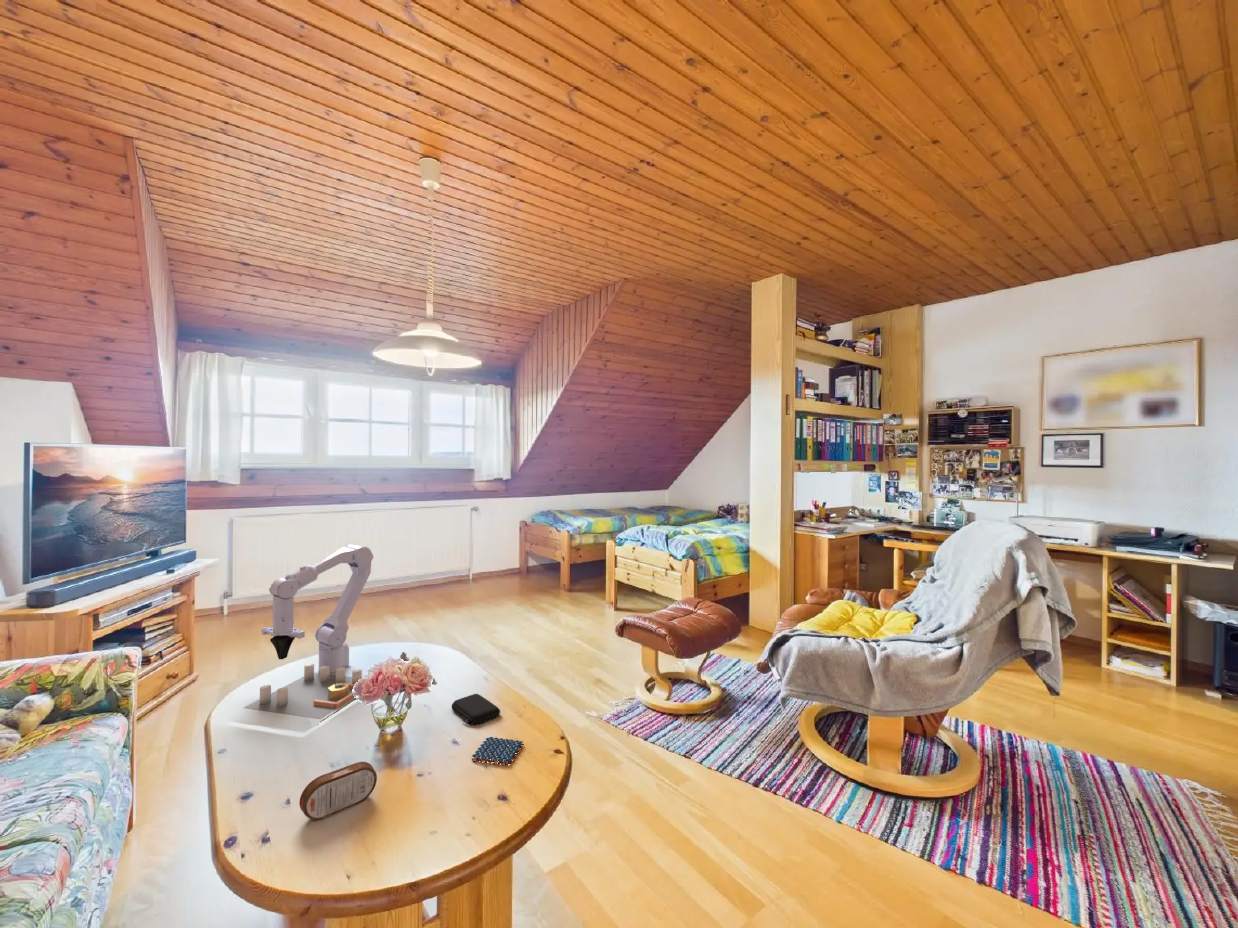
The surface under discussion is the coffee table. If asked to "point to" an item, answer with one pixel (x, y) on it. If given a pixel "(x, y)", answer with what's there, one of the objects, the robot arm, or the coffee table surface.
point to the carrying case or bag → (475, 709)
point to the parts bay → (335, 704)
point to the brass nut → (338, 691)
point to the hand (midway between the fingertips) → (282, 658)
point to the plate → (305, 693)
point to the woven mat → (498, 750)
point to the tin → (338, 790)
